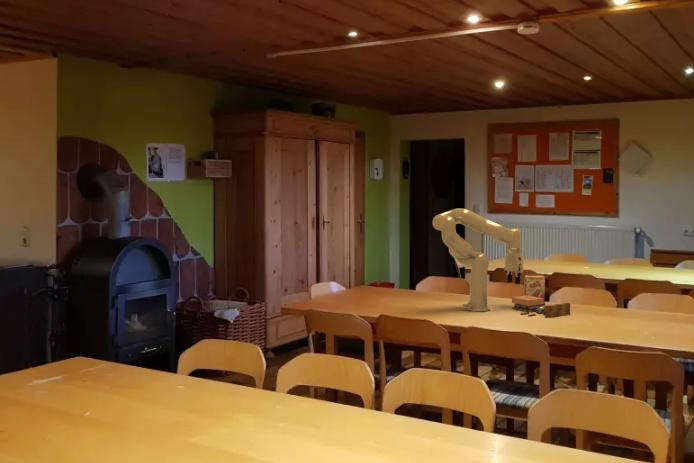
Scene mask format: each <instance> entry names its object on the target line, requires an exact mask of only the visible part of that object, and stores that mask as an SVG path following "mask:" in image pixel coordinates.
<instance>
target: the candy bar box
mask: <svg viewBox="0 0 694 463" xmlns="http://www.w3.org/2000/svg"><path fill="white" fill-rule="evenodd" d="M523 285H524V287H523V288H524V290H523V291H524V293H523V296H526V295H527V296H533V297H538V298H544V304H540V305H541V306H546V276H545V275H524V284H523Z"/></svg>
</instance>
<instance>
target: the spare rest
mask: <svg viewBox="0 0 694 463" xmlns="http://www.w3.org/2000/svg"><path fill="white" fill-rule="evenodd" d="M520 315H521V316H525V315H527V317H530V318H531V317H536V316H537V313H530V312H526V311H525V312H521V313H520Z"/></svg>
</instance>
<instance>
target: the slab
mask: <svg viewBox="0 0 694 463" xmlns="http://www.w3.org/2000/svg"><path fill="white" fill-rule="evenodd" d="M511 303H512V304H515V303H516V304H521V305H526V306H532V305H540V304H544V298H538V297H533V296H527V295H526V296H524V295H519V296H512V297H511Z"/></svg>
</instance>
